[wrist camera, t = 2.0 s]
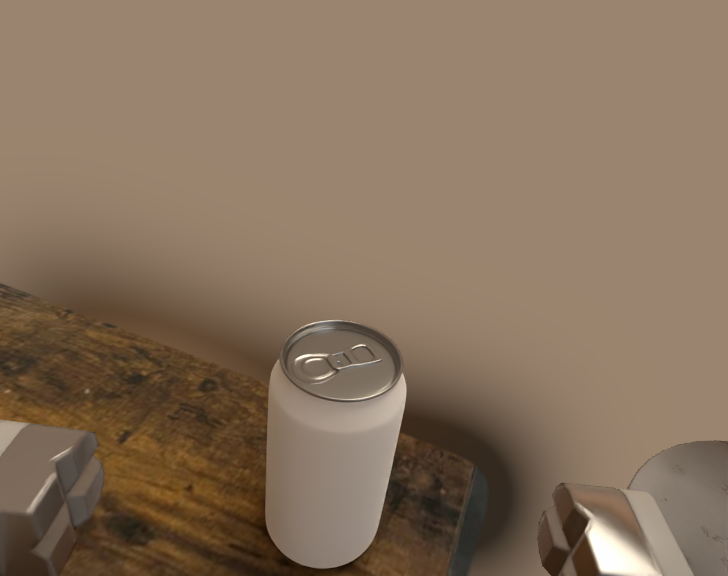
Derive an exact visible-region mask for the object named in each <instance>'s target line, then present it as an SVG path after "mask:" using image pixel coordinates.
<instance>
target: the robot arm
mask: <svg viewBox="0 0 728 576" xmlns="http://www.w3.org/2000/svg"><path fill="white" fill-rule="evenodd" d="M98 446H99V445H98V442H97V438H96V434H95V432H90V431H83V430H76V429H69V428H61V427H54V426H47V425H39V424H32V423H23V422H15V421H7V420H0V576H59V575H60V573H61V572H62V570H63V568H64V566H65V564H66V562H67V561H68V559H69V557H70V555H71V553H72V551H73V549H74V548H75V546H76V544H77V541H76V536H75V531H74V530H75V529H76V528H77V527H79V526H80V525H82V524H83V523H84V522H86V521H87V520H89V519H90V518H91V516H92V514H93V512H94V510H95V508H96V506H97V504H98V502H99V499H100V495H101V492H102V489H103V485H104V469H103V464H102V462H101V461H99V460H98V459H97V458H96V457H95V456H94V455H93V454H94V453H95V451H96V449H97V447H98ZM552 498H553V501H554V504H555V505H554V506H552V507H550V508H548V509H547V510H545V511H544V512H543V514H542V517H541V519H540V521H539V526H538V538H537V539H538V548H539V554H540V558H541V562H542V565H543V567H544V568H545V569H546V570H547V571H548V573H549V574H550V575H551V576H694V574H693V573H692V571H691V569H690V567H689V565H688V563H687V561H686V559H685V557H684V555H683V553H682V551H681V550H680V548H679V546H678V544H677V542H676V540H675V538H674V536H673V534H672V532H671V530H670V528H669V526H668V525H667V523H666V521H665V519H664V517H663V515H662V513H661V511H660V509H659V507H658V505H657V503H656V502H655V500H654V498H653V497H652V496H651V495H650V494H649V493H648V492H644V491H635V490H626V489H616V488H612V487H601V486H592V485H581V484H571V483H561V484H559V485H558V486H556V488H555V490H554V492H553V494H552Z"/></svg>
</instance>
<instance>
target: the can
mask: <svg viewBox="0 0 728 576" xmlns="http://www.w3.org/2000/svg"><path fill="white" fill-rule="evenodd" d="M402 372H403V358H402V355H401V352H400V350H399V348H398V347H397V346H396V344H395V343H394V342H393V341H392V340H391V339H390V338H389V337H388V336H386V335H385V334H384V333H382V332H381V331H379V330H377V329H375V328H373V327H370V326H368V325H365V324H362V323H358V322H354V321H348V320H322V321H317V322H313V323H309V324H307V325H304V326H302V327H300V328H298V329H296V330H295V331H294V332H292V333H291V334H290V335H289V336H288V337H287V338H286V339H285V341H284V342H283V344H282V346H281V349H280V354H279V359H278V360H277V362H276V364H275V366H274V368H273V370H272V373H271V377H270V382H269V398H268V426H267V460H266V501H265V519H266V526H267V530H268V532H269V535H270V537H271V539H272V540H273V542H274V543H275V545H276V546H277V547H278V549H279V550H280V551H281V552H282V553H283V554H284V555H285V556H287V557H288V558H289V559H291V560H293V561H294V562H296V563H299V564H301V565H304V566H308V567H312V568H333V567H338V566H342V565H344V564H347V563H349V562H351V561H353V560H355V559H356V558H357V557H359V556H360V555H361V554H362V553H363V552H364V551H365V550H366V549H367V548H368V547H369V546H370V544H371V543H372V541H373V539H374V537H375V534H376V532H377V529H378V525H379V521H380V517H381V512H382V508H383V503H384V499H385V495H386V490H387V486H388V481H389V477H390V472H391V468H392V463H393V458H394V454H395V449H396V445H397V440H398V435H399V431H400V426H401V421H402V416H403V412H404V406H405V400H406V383H405V378H404V375H403V373H402Z"/></svg>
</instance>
